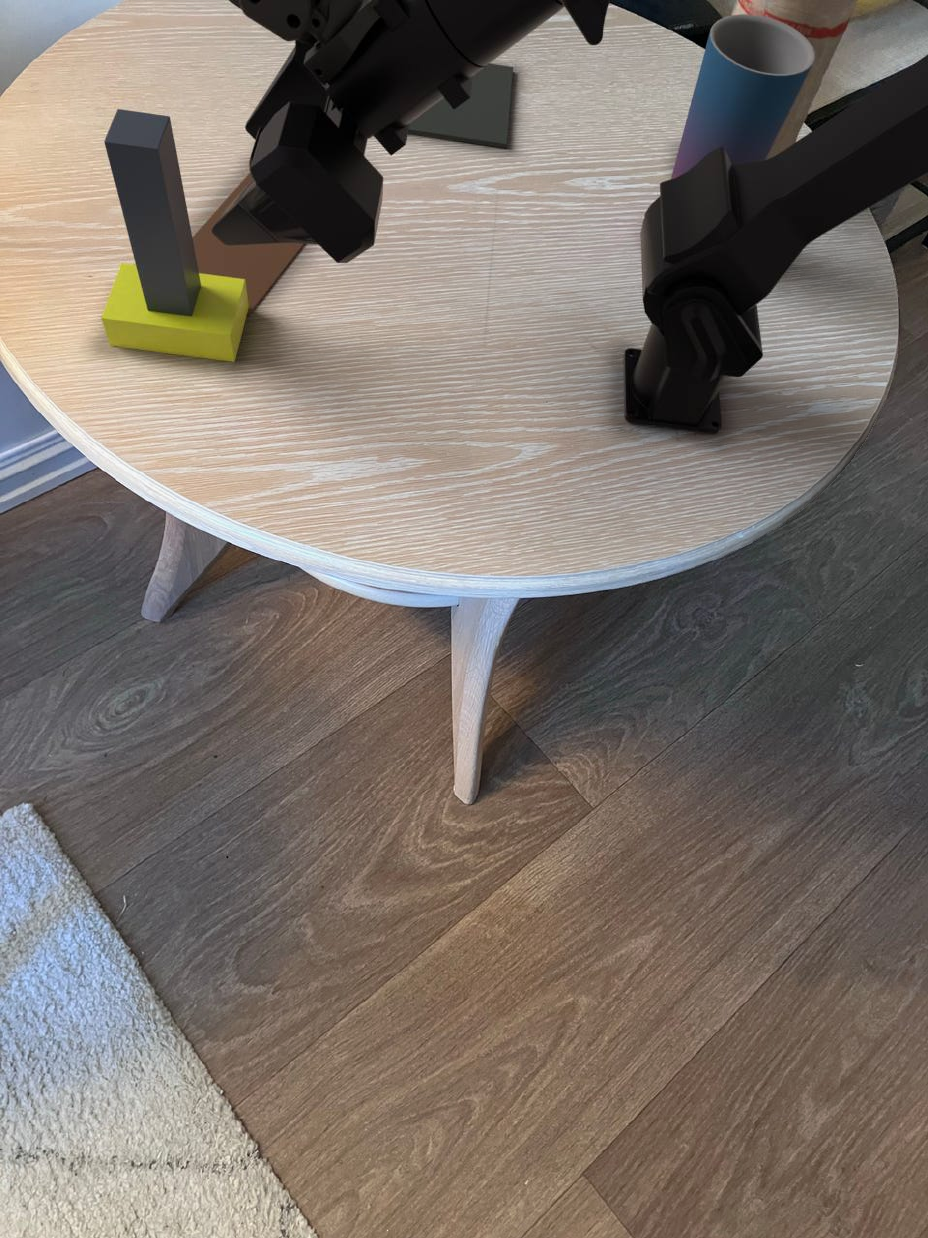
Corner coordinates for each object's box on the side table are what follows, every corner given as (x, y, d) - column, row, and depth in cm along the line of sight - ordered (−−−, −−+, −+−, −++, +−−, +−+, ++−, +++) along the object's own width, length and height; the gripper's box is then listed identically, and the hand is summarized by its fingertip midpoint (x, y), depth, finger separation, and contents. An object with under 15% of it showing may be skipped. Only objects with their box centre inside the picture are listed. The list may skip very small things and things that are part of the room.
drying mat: (506, 148, 75) (507, 143, 75) (370, 127, 74) (370, 123, 74) (512, 71, 81) (513, 66, 80) (386, 51, 80) (386, 46, 80)
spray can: (661, 147, 78) (753, -141, 60) (743, 133, 80) (854, -148, 63) (712, 211, 74) (825, -75, 57) (796, 195, 76) (929, -84, 59)
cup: (728, 222, 74) (810, 23, 61) (732, 280, 70) (820, 83, 57) (643, 208, 73) (708, 5, 60) (643, 266, 70) (712, 64, 57)
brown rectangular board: (249, 316, 63) (248, 313, 63) (156, 280, 63) (155, 278, 63) (362, 170, 72) (362, 167, 72) (279, 140, 72) (279, 138, 72)
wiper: (234, 362, 60) (203, 169, 48) (109, 345, 60) (46, 147, 48) (249, 306, 63) (223, 109, 51) (129, 291, 62) (73, 88, 50)
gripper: (359, -256, 43) (155, -32, 51) (291, -52, 33) (56, 179, 42) (502, -37, 50) (302, 126, 59) (480, 181, 41) (246, 336, 49)
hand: (235, 182), depth 52 cm, fingers open, 9 cm apart
